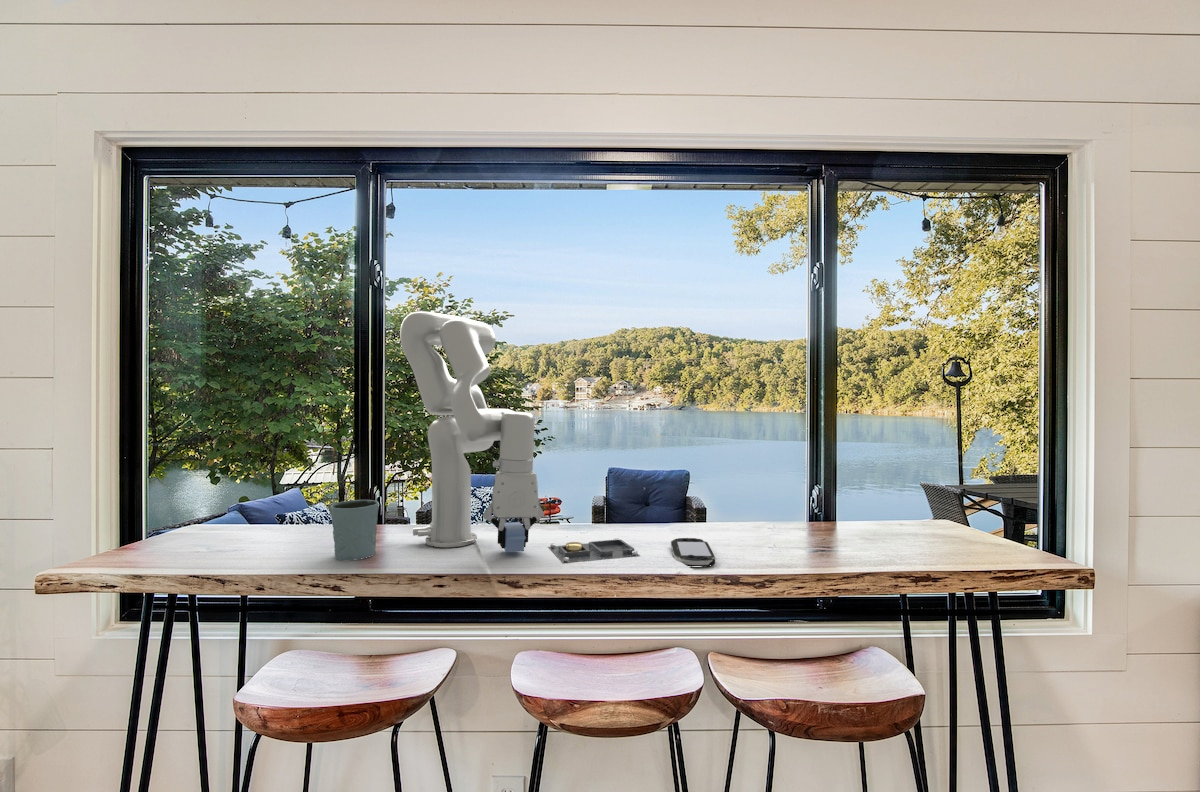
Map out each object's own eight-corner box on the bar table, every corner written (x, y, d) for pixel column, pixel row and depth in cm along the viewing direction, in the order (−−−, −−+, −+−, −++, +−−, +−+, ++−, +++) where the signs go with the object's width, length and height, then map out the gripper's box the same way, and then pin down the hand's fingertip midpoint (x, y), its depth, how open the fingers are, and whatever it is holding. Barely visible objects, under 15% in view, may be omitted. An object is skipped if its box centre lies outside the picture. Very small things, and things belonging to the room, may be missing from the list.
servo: (506, 553, 124) (507, 531, 124) (501, 542, 132) (501, 521, 132) (524, 552, 126) (525, 530, 125) (517, 541, 133) (518, 520, 133)
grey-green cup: (386, 550, 134) (386, 500, 134) (364, 562, 124) (364, 508, 124) (345, 549, 135) (345, 499, 135) (320, 561, 125) (321, 507, 125)
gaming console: (669, 546, 141) (669, 536, 141) (706, 546, 140) (706, 536, 140) (675, 569, 122) (675, 557, 122) (717, 570, 121) (717, 558, 121)
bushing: (568, 555, 127) (568, 546, 127) (564, 551, 130) (564, 542, 130) (583, 554, 128) (583, 545, 128) (579, 550, 131) (579, 541, 131)
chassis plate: (562, 567, 121) (562, 558, 121) (547, 551, 134) (547, 542, 134) (640, 560, 127) (640, 551, 127) (618, 544, 140) (618, 536, 140)
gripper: (480, 469, 122) (477, 553, 123) (556, 468, 127) (552, 549, 128) (476, 463, 129) (473, 543, 130) (548, 463, 134) (544, 539, 135)
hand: (512, 545), depth 129 cm, fingers closed on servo, 4 cm apart
